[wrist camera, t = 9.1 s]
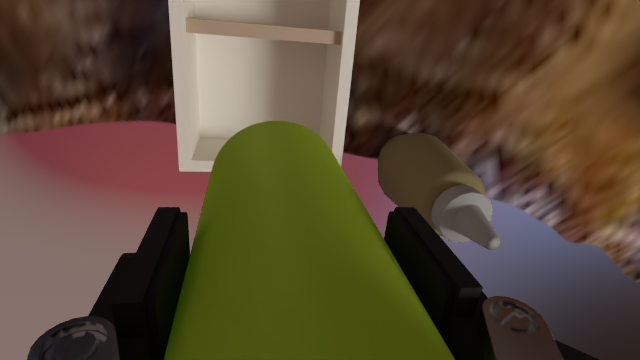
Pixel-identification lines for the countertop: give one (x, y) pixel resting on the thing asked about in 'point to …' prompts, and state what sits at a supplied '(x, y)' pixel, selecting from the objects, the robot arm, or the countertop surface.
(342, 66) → the caddy
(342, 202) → the soap dispenser
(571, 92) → the countertop surface
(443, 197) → the squeeze bottle
